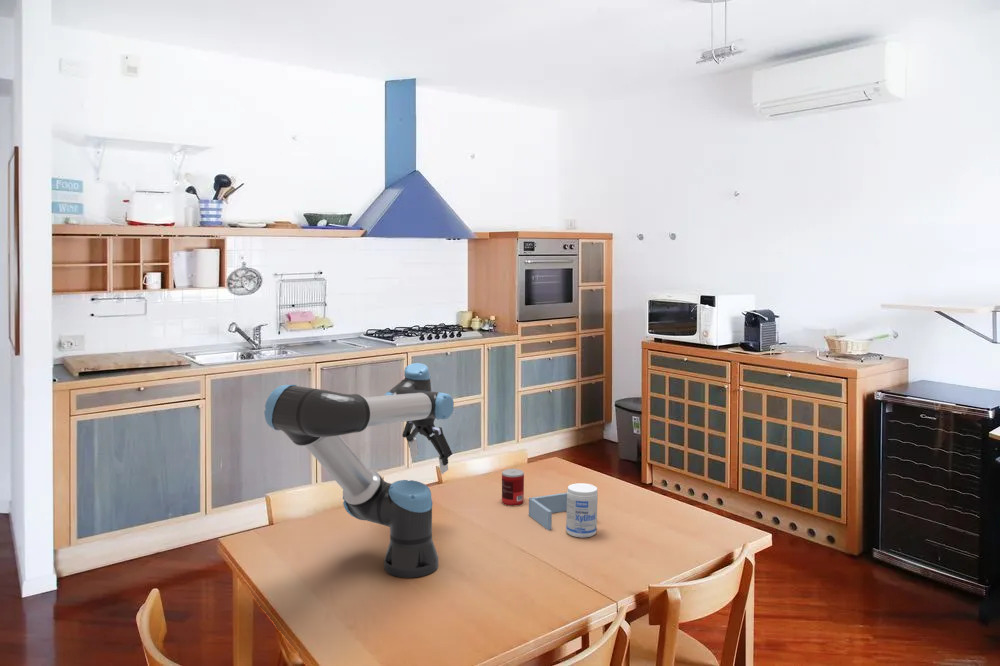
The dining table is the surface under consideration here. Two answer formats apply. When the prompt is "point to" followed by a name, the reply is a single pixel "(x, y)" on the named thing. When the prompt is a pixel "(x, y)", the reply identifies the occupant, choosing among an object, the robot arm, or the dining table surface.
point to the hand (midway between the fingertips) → (429, 463)
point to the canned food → (512, 487)
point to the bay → (547, 508)
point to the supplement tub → (581, 510)
